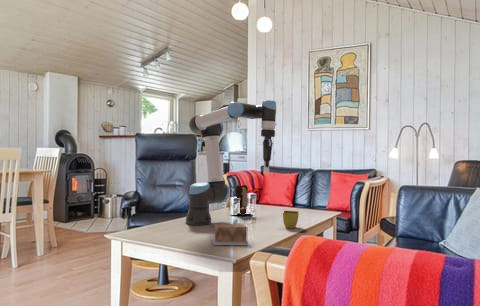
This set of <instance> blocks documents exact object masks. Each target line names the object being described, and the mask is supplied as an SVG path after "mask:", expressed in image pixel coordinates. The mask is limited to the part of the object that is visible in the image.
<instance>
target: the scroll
mask: <svg viewBox="0 0 480 306" xmlns="http://www.w3.org/2000/svg"><path fill="white" fill-rule="evenodd" d="M248 191H249V188H248V186H247V185H246V184H243V185H237V186H235V192H236V196H235V198H236V197H237V198H239V199H240V213H241V214H245V213H246V209H247V206H248V204H247V202H248ZM237 198H236V199H237ZM241 214H240V215H241ZM245 215H246V214H245Z"/></svg>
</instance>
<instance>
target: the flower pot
mask: <svg viewBox="0 0 480 306" xmlns="http://www.w3.org/2000/svg"><path fill="white" fill-rule="evenodd" d="M299 213H300V211H298V210H283V212H282V220H283V225H284V227H285V228H286V229H293V228H294V229H296V227H297V225H298V222H299V215H300V214H299Z"/></svg>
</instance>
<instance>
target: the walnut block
mask: <svg viewBox="0 0 480 306" xmlns="http://www.w3.org/2000/svg"><path fill="white" fill-rule="evenodd" d="M248 228H249V227H248V225H247V224H246V223H214V236H215V241H216V242H248V237H249V235H248V234H249V233H248V230H249V229H248Z"/></svg>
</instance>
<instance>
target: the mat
mask: <svg viewBox="0 0 480 306" xmlns="http://www.w3.org/2000/svg"><path fill="white" fill-rule="evenodd" d="M209 237H210V241H211V240H212V241H211V243H213V244H212V246H213V245H247V243H246V242H216V241H215V235H210V236H209ZM247 246H248V245H247Z"/></svg>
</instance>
